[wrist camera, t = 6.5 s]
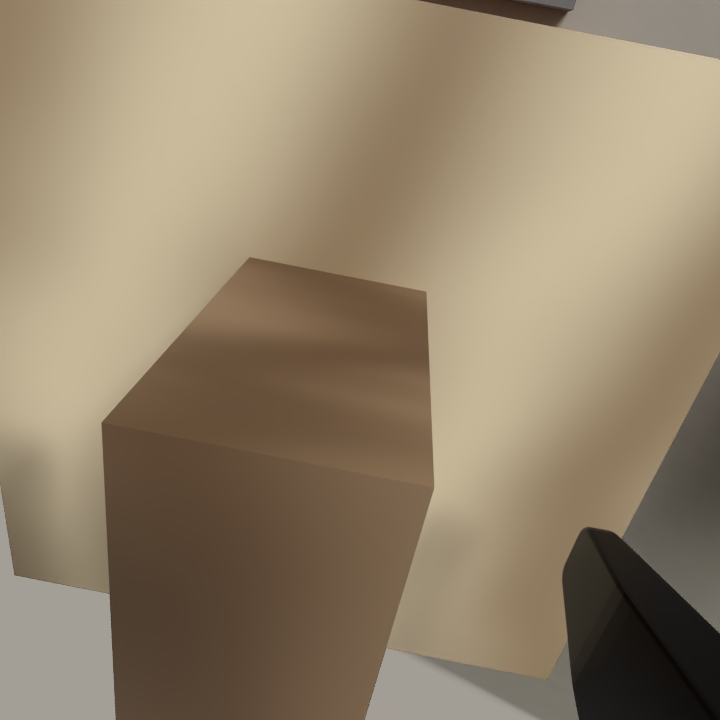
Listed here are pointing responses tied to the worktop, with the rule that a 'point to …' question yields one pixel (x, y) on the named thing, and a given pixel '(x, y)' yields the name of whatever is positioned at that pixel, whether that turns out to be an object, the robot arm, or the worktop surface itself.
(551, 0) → the mat
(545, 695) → the worktop surface
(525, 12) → the worktop surface
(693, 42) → the worktop surface
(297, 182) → the lid
